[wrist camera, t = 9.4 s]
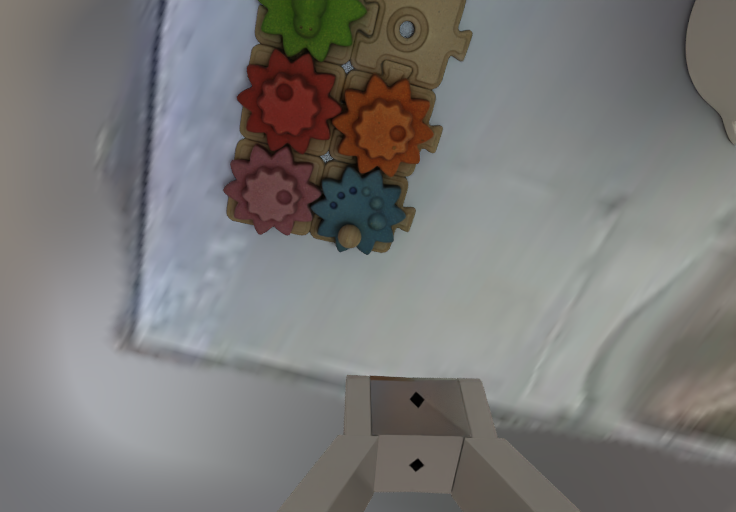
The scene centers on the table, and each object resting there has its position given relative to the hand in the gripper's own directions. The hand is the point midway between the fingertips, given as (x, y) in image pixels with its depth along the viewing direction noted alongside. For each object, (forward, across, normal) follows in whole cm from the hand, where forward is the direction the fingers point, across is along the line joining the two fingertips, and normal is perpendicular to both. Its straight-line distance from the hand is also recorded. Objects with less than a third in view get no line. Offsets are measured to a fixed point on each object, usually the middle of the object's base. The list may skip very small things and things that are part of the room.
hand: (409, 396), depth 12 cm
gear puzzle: (+34, +1, 0) cm, 34 cm away
